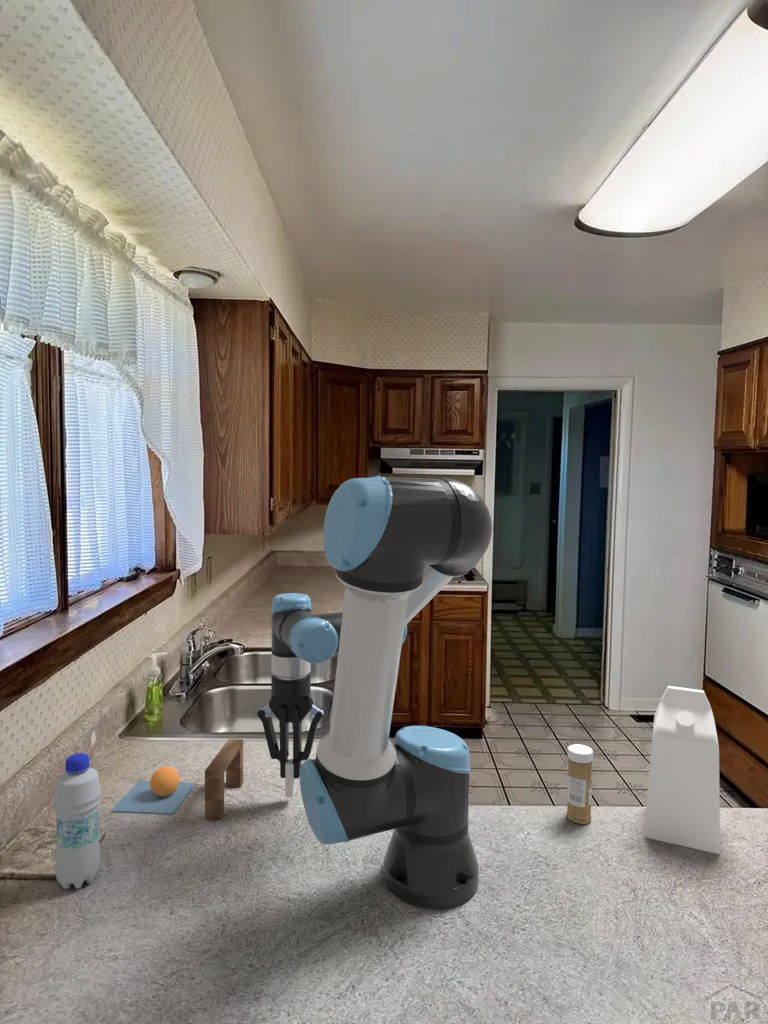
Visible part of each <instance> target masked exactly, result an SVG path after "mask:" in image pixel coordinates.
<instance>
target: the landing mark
mask: <svg viewBox="0 0 768 1024" xmlns="http://www.w3.org/2000/svg"><path fill="white" fill-rule="evenodd" d="M196 785H197V782H189V781H188V782H186V781H185V782H183V781H179V785H178V787H177V789H176V790H175V791H174V792H173V793H172V794H171V795H169V796H166V797H160V796H157V795H155V794H154V793H153V792H152V790H151V788H150V780H141V779H140V780H138V782H137V783H136V784H134V786H133V787H132V788H131V789H130V790H129V791H128V792H127V793H126V794H125V795H124V796H123V798H122V799H120V800H119V801H118V802H117V804H116V805H114V807H113V808H111V810H110V812H112V813H129V814H130V813H132V814H134V813H136V814H153V815H154V814H156V815H157V814H158V815H174V814H175V812H176V811H178V809H179V808H180V806H181V804H182V803H183V802H184V801H185V799H186V798H187V797H188V796H189V794H190V793H191V792H192V790H193V789H194V787H196Z"/></svg>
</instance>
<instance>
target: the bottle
mask: <svg viewBox="0 0 768 1024" xmlns="http://www.w3.org/2000/svg"><path fill="white" fill-rule="evenodd" d="M64 765H65V771H64V772H62V773H61V774H59V775H58V776H57V777H56V779H55V783H54V784H55V786H54V792H53V799H52V802H53V805H54V806H53V811H54V812H55V814H56V817H55V819H56V855H55V856H56V857H55V877H56V878H55V879H56V882H57V883H58V884H60V885H61V887H62V888H63V889H65V890H69V889H70V888H71V885H74V888H75V889H78V890H79V889H81V888H82V886H83V883H84V882H85V881H86V884H87V885H89V884H91V883H93V882H94V881H95V878H96V876H97V875H98V874H99V872H100V869H101V849H100V847H101V846H100V840H99V839H100V837H99V835H100V832H99V831H100V830H99V829H100V827H99V824H100V823H99V820H100V819H99V818H100V817H99V815H100V814H99V813H100V812H99V809H100V808H99V805H100V803H101V800H102V799H101V795H102V788H101V783H100V777H99V772H98V770H97V769H95V768H93V767H90V756H89V755H88V754H86V753H82V752H80V753H79V752H78V753H74V754H71V755H69V756H68V757H67V758H66V760H65V764H64Z"/></svg>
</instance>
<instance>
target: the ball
mask: <svg viewBox="0 0 768 1024" xmlns="http://www.w3.org/2000/svg"><path fill="white" fill-rule="evenodd" d="M149 781H150V788H151V790H152V792H153V793H154V794H155V795H157V796H160V797H166V796H169V795H171V794H172V793H173V792H174V791H175V790H176V789H177V787H178V785H179V782H180V776H179V773H178V771H177V770H176V769H175V768H173V767H171V766H163V767H160V768H158V769H156V770H155V771H154V772H153V773H152V775H151V778H150V780H149Z"/></svg>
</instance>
